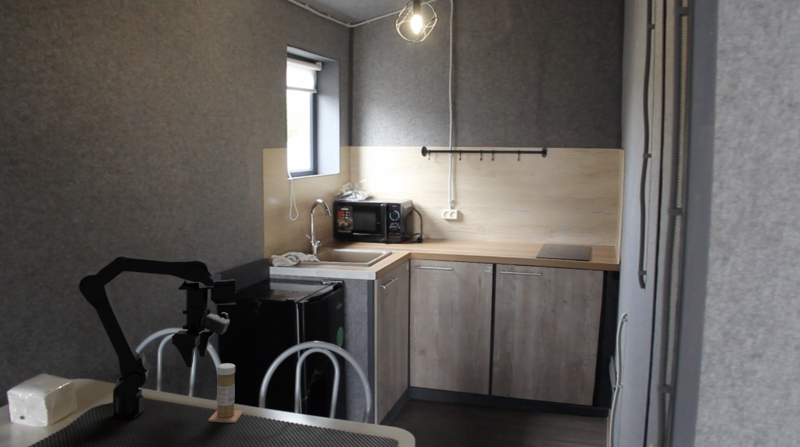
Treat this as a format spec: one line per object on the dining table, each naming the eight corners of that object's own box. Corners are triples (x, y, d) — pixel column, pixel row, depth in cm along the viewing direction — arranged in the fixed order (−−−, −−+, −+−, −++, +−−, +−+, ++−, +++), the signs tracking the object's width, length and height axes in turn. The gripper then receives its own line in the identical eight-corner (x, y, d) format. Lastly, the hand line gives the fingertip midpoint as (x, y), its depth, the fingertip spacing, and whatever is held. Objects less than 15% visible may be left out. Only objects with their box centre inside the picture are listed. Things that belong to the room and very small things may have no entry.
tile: (208, 421, 154) (208, 419, 154) (217, 411, 161) (217, 409, 161) (235, 422, 154) (235, 421, 154) (243, 412, 161) (243, 410, 161)
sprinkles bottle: (228, 410, 161) (229, 361, 160) (237, 415, 158) (238, 365, 157) (213, 414, 157) (213, 365, 156) (222, 420, 154) (223, 369, 153)
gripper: (213, 314, 151) (213, 374, 152) (237, 299, 169) (236, 353, 170) (170, 312, 151) (170, 372, 152) (198, 298, 170) (198, 351, 171)
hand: (196, 361), depth 161 cm, fingers open, 9 cm apart
